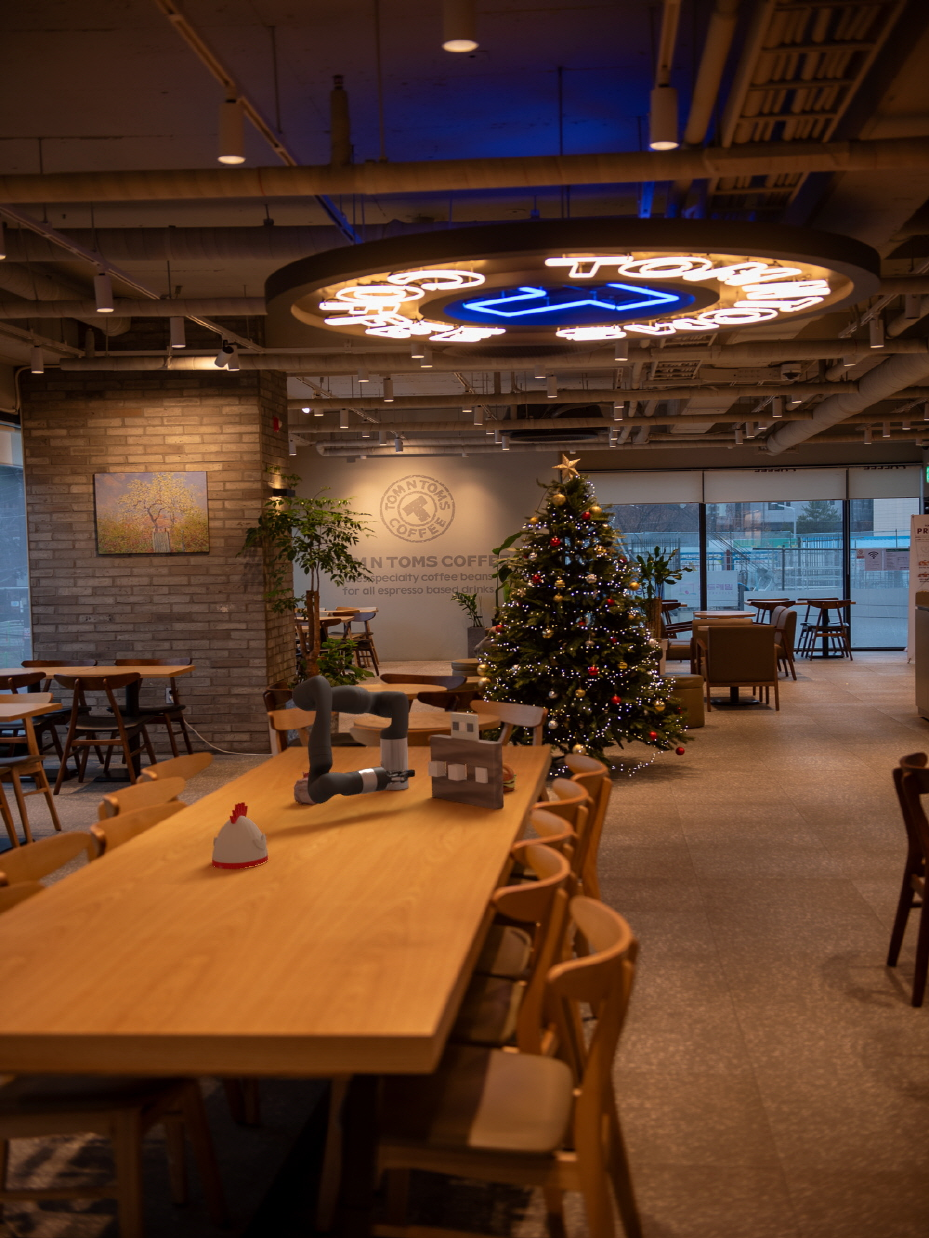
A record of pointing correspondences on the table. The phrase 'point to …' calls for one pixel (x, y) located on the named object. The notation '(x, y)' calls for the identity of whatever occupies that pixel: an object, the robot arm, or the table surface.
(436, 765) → the left button
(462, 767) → the middle button
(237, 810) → the kitchen timer
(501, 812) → the table surface
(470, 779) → the console
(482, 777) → the right button
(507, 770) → the cheeseburger
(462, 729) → the pattern sign
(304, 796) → the food item
